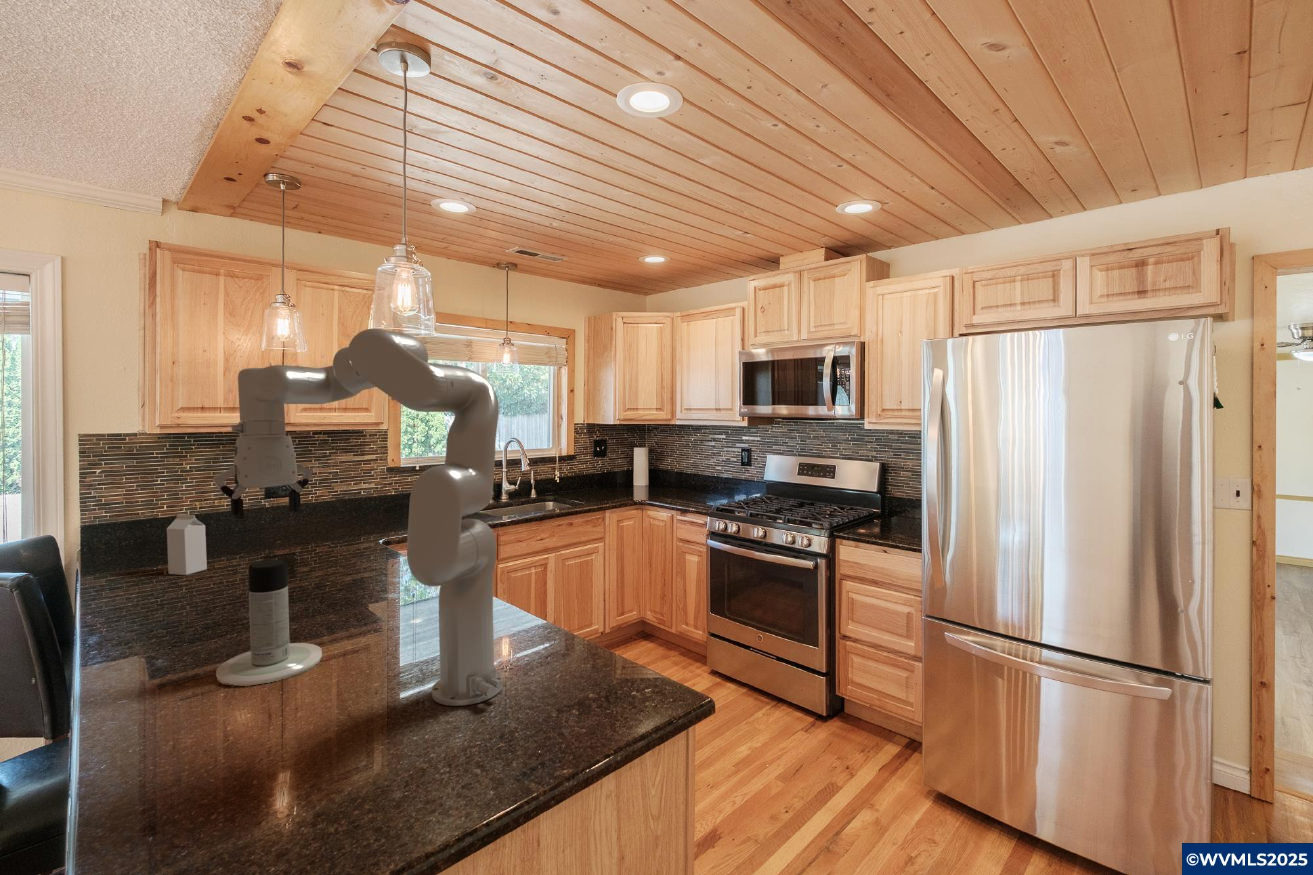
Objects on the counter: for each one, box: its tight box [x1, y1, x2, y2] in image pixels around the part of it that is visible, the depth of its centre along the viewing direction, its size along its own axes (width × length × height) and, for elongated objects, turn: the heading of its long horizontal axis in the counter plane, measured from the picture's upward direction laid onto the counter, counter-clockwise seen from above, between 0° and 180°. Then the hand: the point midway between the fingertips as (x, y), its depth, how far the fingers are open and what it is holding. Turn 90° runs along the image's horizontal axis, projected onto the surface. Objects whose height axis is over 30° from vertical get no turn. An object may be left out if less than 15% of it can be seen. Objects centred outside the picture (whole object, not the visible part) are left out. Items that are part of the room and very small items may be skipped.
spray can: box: [248, 559, 291, 666], centre depth 119 cm, size 7×7×20 cm
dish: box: [215, 642, 323, 685], centre depth 119 cm, size 18×18×1 cm
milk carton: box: [166, 514, 208, 576], centre depth 192 cm, size 7×7×19 cm
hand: (267, 514), depth 118 cm, fingers open, 9 cm apart
